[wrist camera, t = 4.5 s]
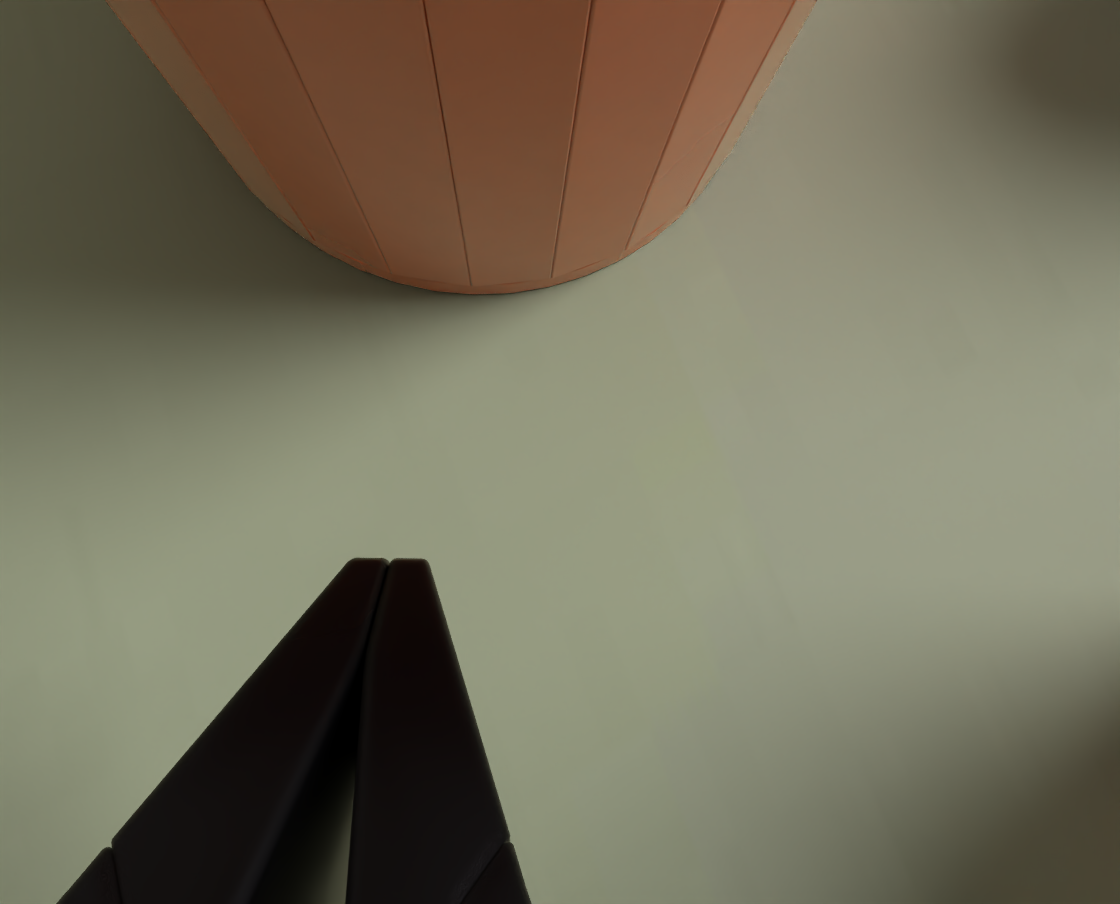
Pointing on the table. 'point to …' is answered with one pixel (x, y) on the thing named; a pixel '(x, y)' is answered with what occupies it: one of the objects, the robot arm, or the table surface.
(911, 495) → the table surface
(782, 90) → the table surface
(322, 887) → the robot arm
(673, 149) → the bucket
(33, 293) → the table surface
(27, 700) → the table surface
